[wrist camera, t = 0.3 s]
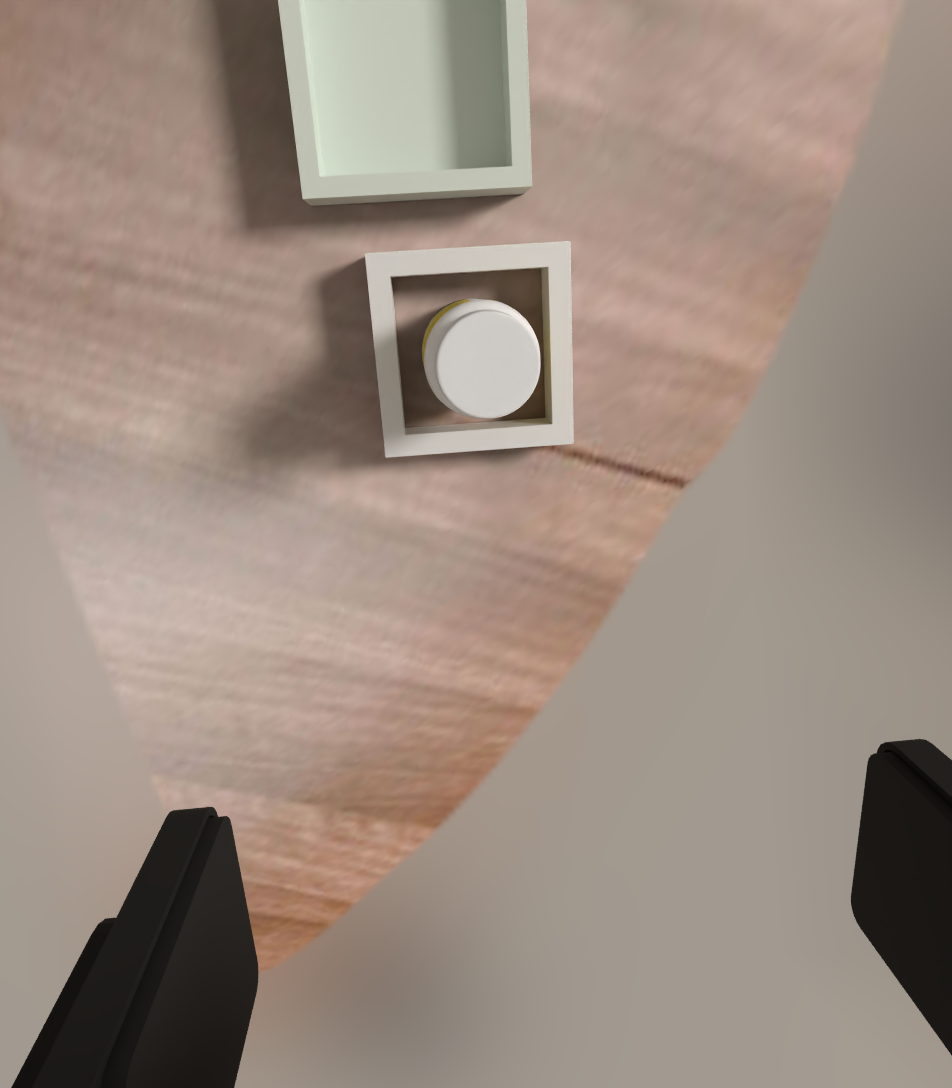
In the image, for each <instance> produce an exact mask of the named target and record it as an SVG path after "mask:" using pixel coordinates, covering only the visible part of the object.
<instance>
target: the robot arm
mask: <svg viewBox="0 0 952 1088" xmlns="http://www.w3.org/2000/svg"><path fill="white" fill-rule="evenodd" d="M851 905H852V910H853V914H854V917H855V919H856V921H857V923H858V925H859V926H860V928H861V930H862V931H863V932H864V934H865V935H866V937H867V938H868V939H869V941H870V942H871V943H872V945H873V946H874V947H875V949H876V950H877V952H878V953H879V954H880V956H881V957H882V959H883V960H884V961H885V963H886V964H887V966H888V967H889V968H890V970H891V971H892V973H893V974H894V976H895V977H896V978H897V980H898V981H899V982H900V984H901V985H902V987H903V988H904V989H905V991H906V992H907V993H908V995H909V996H910V998H911V999H912V1001H913V1002H914V1003H915V1005H916V1006H917V1008H918V1009H919V1010H920V1011H921V1013H922V1014H923V1016H924V1017H925V1019H926V1020H927V1021H928V1023H929V1024H930V1026H931V1027H932V1028H933V1030H934V1031H935V1032H936V1034H937V1035H938V1037H939V1038H940V1039H941V1041H942V1042H943V1044H944V1045H945V1047H946V1048H947V1049H948V1051H949V1052H950V1053H951V1055H952V760H951V759H950V758H948V757H947V756H946V755H945V754H944V753H942V752H941V751H940V750H939V749H938V748H936V747H935V746H934V745H933V744H932V743H930V742H928V741H927V740H923V739H915V740H906V741H894V742H885V743H883V744H881V745H880V747H879V748H878V751H877V753H876V754H873V755H871V756H870V758H869V760H868V765H867V772H866V780H865V789H864V797H863V804H862V812H861V820H860V829H859V836H858V844H857V852H856V861H855V869H854V878H853V886H852V893H851ZM257 986H258V961H257V956H256V951H255V945H254V940H253V935H252V930H251V924H250V919H249V914H248V909H247V904H246V898H245V893H244V888H243V883H242V877H241V872H240V867H239V862H238V856H237V851H236V846H235V841H234V836H233V830H232V825H231V821H230V819H229V817H227V816H223V817H218V815H217V812H216V810H215V809H214V808H213V807H205V808H194V809H184V810H173V811H171V812H170V813H169V814H168V815H167V817H166V819H165V821H164V823H163V825H162V827H161V829H160V831H159V833H158V835H157V837H156V839H155V841H154V843H153V845H152V847H151V849H150V851H149V853H148V855H147V857H146V859H145V861H144V863H143V865H142V867H141V869H140V871H139V873H138V875H137V877H136V879H135V881H134V883H133V886H132V887H131V889H130V891H129V893H128V895H127V898H126V900H125V901H124V904H123V906H122V908H121V910H120V912H119V914H118V916H117V918H109V919H104V920H103V921H102V922H100V923H99V924H98V925H97V927H96V928H95V930H94V932H93V933H92V935H91V936H90V938H89V940H88V942H87V944H86V946H85V948H84V950H83V952H82V954H81V956H80V957H79V959H78V961H77V963H76V965H75V967H74V969H73V971H72V973H71V975H70V977H69V978H68V980H67V982H66V984H65V986H64V988H63V990H62V992H61V994H60V996H59V998H58V999H57V1001H56V1003H55V1005H54V1007H53V1009H52V1011H51V1013H50V1015H49V1017H48V1019H47V1021H46V1023H45V1024H44V1026H43V1028H42V1030H41V1032H40V1034H39V1036H38V1038H37V1040H36V1042H35V1043H34V1045H33V1047H32V1050H31V1051H30V1053H29V1055H28V1057H27V1059H26V1061H25V1063H24V1065H23V1066H22V1068H21V1070H20V1072H19V1074H18V1076H17V1078H16V1080H15V1082H14V1084H13V1086H12V1087H11V1088H234V1086H235V1082H236V1077H237V1073H238V1069H239V1065H240V1060H241V1056H242V1052H243V1048H244V1044H245V1039H246V1035H247V1031H248V1027H249V1022H250V1018H251V1014H252V1009H253V1005H254V1001H255V997H256V992H257Z"/></svg>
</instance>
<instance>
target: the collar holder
mask: <svg viewBox="0 0 952 1088" xmlns="http://www.w3.org/2000/svg"><path fill="white" fill-rule="evenodd" d="M365 260H366V270H367V280H368V290H369V300H370V310H371V319H372V329H373V339H374V349H375V359H376V369H377V379H378V389H379V398H380V408H381V418H382V428H383V438H384V448H385V458H387V457H401V456H414V455H427V454H441V453H454V452H468V451H481V450H495V449H508V448H521V447H535V446H548V445H562V444H574V430H573V369H572V308H571V247H570V241H562V242H546V243H529V244H512V245H495V246H478V247H462V248H445V249H428V250H411V251H394V252H378V253H365ZM538 268H541V279H542V313H543V348H544V383H545V418H534V419H521V420H507V421H493V422H479V423H465V424H452V425H438V426H424V427H410V428H405V419H404V408H403V397H402V386H401V375H400V364H399V353H398V342H397V331H396V320H395V309H394V298H393V287H392V277H408V276H424V275H441V274H457V273H473V272H490V271H506V270H522V269H538Z"/></svg>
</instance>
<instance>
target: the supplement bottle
mask: <svg viewBox="0 0 952 1088" xmlns="http://www.w3.org/2000/svg"><path fill="white" fill-rule="evenodd" d="M422 360H423V365H424V369H425V374H426V377H427V380H428V383H429V385H430V387H431V389H432V391H433V392H434V394H435V395H436V397H437V398H438V399H439V400H440V401H441V402H442V403H443V404H444V405H446V406H447V407H448V408H450V409H451V410H453V411H455V412H456V413H459V414H461V415H464V416H467V417H472V418H482V419H492V418H499V417H502V416H505V415H508V414H510V413H512V412H514V411H515V410H517V409H518V408H520V407H521V406H522V405H523V404H524V403H525V402H526V401H527V400H528V399H529V397H530V396H531V394H532V393H533V391H534V389H535V387H536V385H537V382H538V379H539V374H540V349H539V344H538V340H537V338H536V335H535V333H534V331H533V329H532V327H531V326H530V324H529V323H528V321H527V320H526V319H525V318H524V317H523V316H522V315H521V314H520V313H519V312H517V311H516V310H515V309H513V308H511V307H510V306H508V305H506V304H503V303H501V302H498V301H494V300H483V299H463V300H459V301H456V302H453V303H451V304H448V305H447V306H445V307H443V308H442V309H441V310H440V311H438V312H437V313H436V314H435V316H434V317H433V318H432V319H431V321H430V322H429V324H428V326H427V328H426V330H425V333H424V337H423V341H422Z"/></svg>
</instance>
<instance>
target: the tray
mask: <svg viewBox="0 0 952 1088" xmlns="http://www.w3.org/2000/svg"><path fill="white" fill-rule="evenodd" d="M278 5H279V13H280V21H281V29H282V37H283V45H284V53H285V61H286V69H287V77H288V85H289V93H290V101H291V109H292V117H293V125H294V134H295V142H296V150H297V158H298V166H299V174H300V182H301V190H302V198H303V200H304V201H306V202H307V203H308V204H309V205H310V206H320V205H338V204H356V203H374V202H392V201H410V200H428V199H446V198H464V197H481V196H499V195H517V194H524V193H526V192H527V191H528V190H529V189H530V188H531V187H532V170H531V138H530V106H529V74H528V43H527V11H526V0H278Z"/></svg>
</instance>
